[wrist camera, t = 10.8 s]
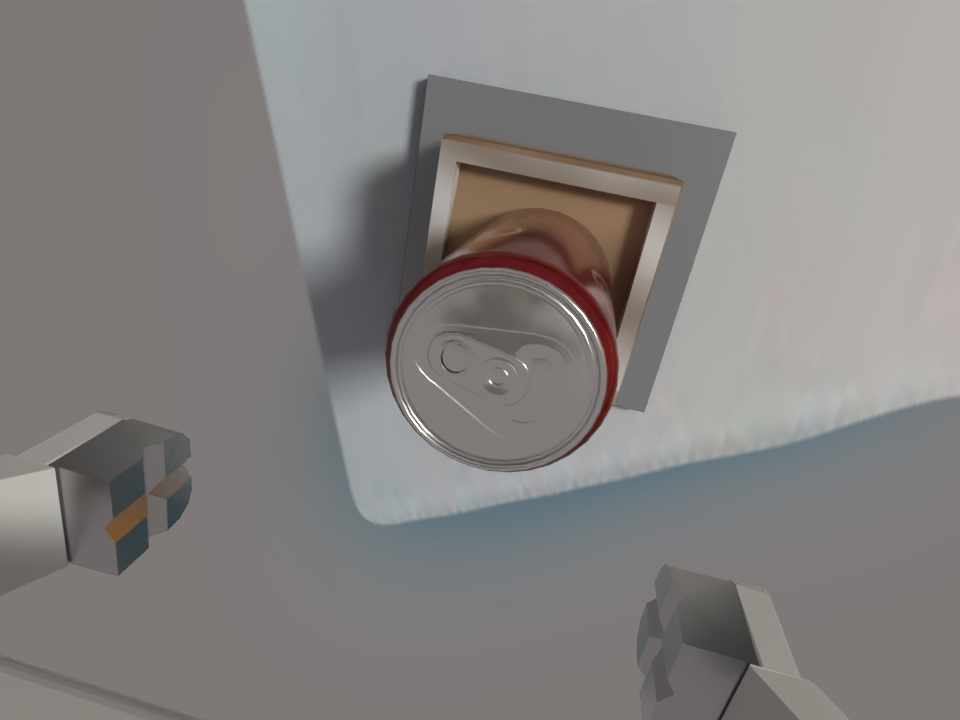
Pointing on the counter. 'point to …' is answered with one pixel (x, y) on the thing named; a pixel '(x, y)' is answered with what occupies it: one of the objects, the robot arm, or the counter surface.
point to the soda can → (509, 344)
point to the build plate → (588, 135)
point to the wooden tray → (569, 190)
